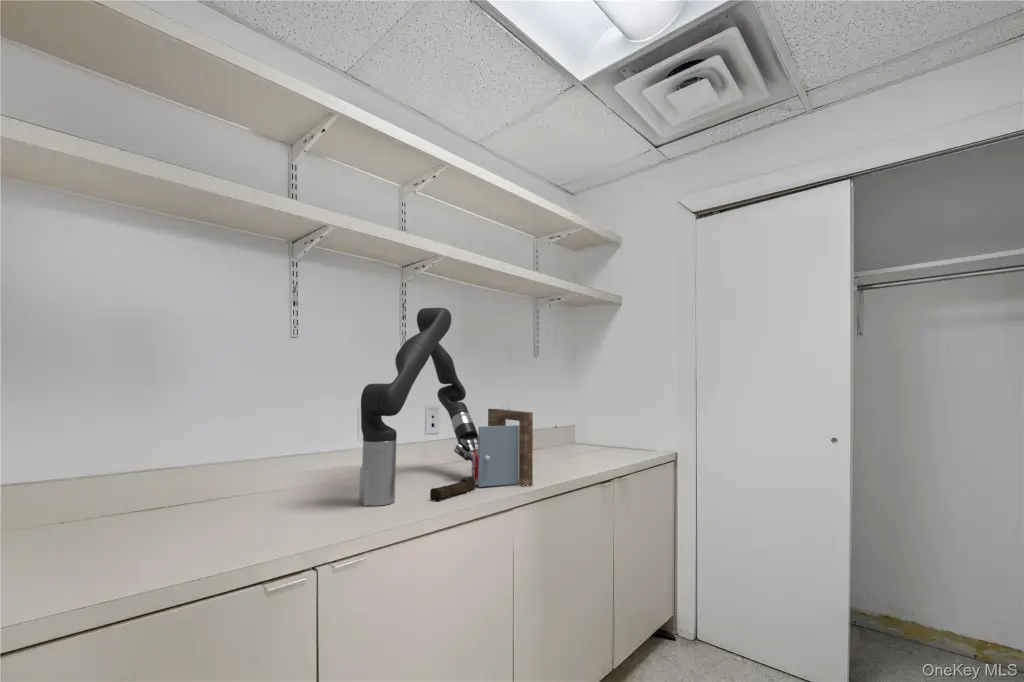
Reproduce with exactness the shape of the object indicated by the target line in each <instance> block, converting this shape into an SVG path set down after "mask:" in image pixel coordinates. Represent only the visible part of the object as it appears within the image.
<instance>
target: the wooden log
mask: <svg viewBox="0 0 1024 682" xmlns="http://www.w3.org/2000/svg"><path fill="white" fill-rule="evenodd" d="M474 489H475V490H476V485H475V480H474V478H473V477H472V476H467V477H463V478H461V479H460V480H459V482H455V483H452V484H448V485H443V486H440V487H439V486H438V487H433V488H430V491H429V492H430V493H429V498H430V500H431V501H432V500H435V501H434V502H440V501H443V500H444V499H447V498H449V497H453V496H455V495H459V494H468V493H467V492H469V493H471V492H470V491H472V490H473V491H475V490H474ZM473 491H472V492H473Z"/></svg>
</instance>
